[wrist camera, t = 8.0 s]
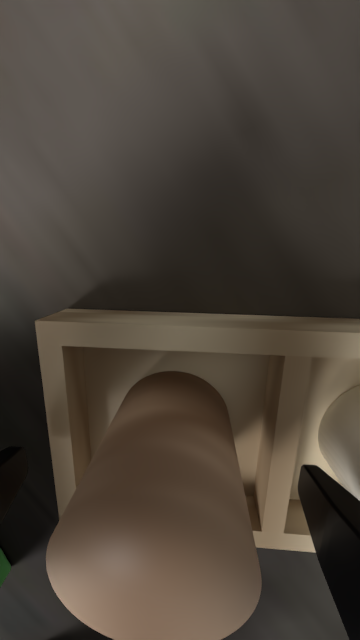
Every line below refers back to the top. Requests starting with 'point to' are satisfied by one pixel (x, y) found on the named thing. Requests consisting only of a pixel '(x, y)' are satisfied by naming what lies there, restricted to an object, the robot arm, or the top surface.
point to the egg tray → (218, 370)
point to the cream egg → (343, 439)
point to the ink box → (3, 567)
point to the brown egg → (160, 521)
